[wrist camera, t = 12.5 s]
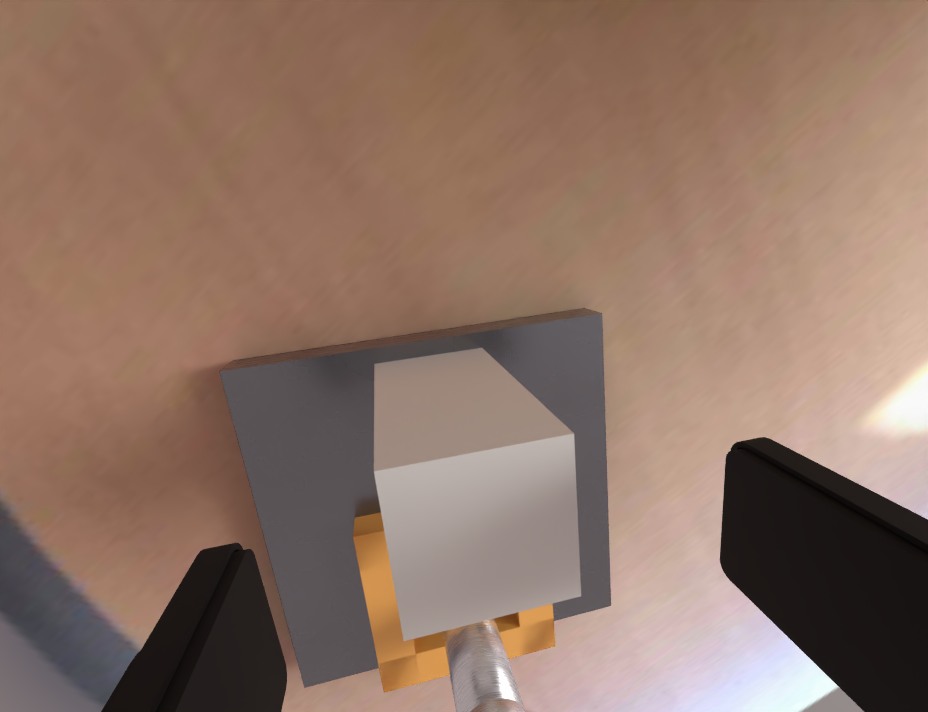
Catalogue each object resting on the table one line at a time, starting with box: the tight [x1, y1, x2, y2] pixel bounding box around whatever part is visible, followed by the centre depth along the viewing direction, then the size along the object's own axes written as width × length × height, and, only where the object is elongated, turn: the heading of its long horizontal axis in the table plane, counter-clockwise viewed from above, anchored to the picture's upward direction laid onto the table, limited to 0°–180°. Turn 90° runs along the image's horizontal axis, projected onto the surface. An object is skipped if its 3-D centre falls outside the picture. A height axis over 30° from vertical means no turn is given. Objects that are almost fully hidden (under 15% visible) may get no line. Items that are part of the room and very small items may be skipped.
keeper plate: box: [220, 308, 611, 712], centre depth 15 cm, size 14×14×8 cm
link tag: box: [353, 348, 581, 692], centre depth 14 cm, size 13×7×8 cm, turn 6°
